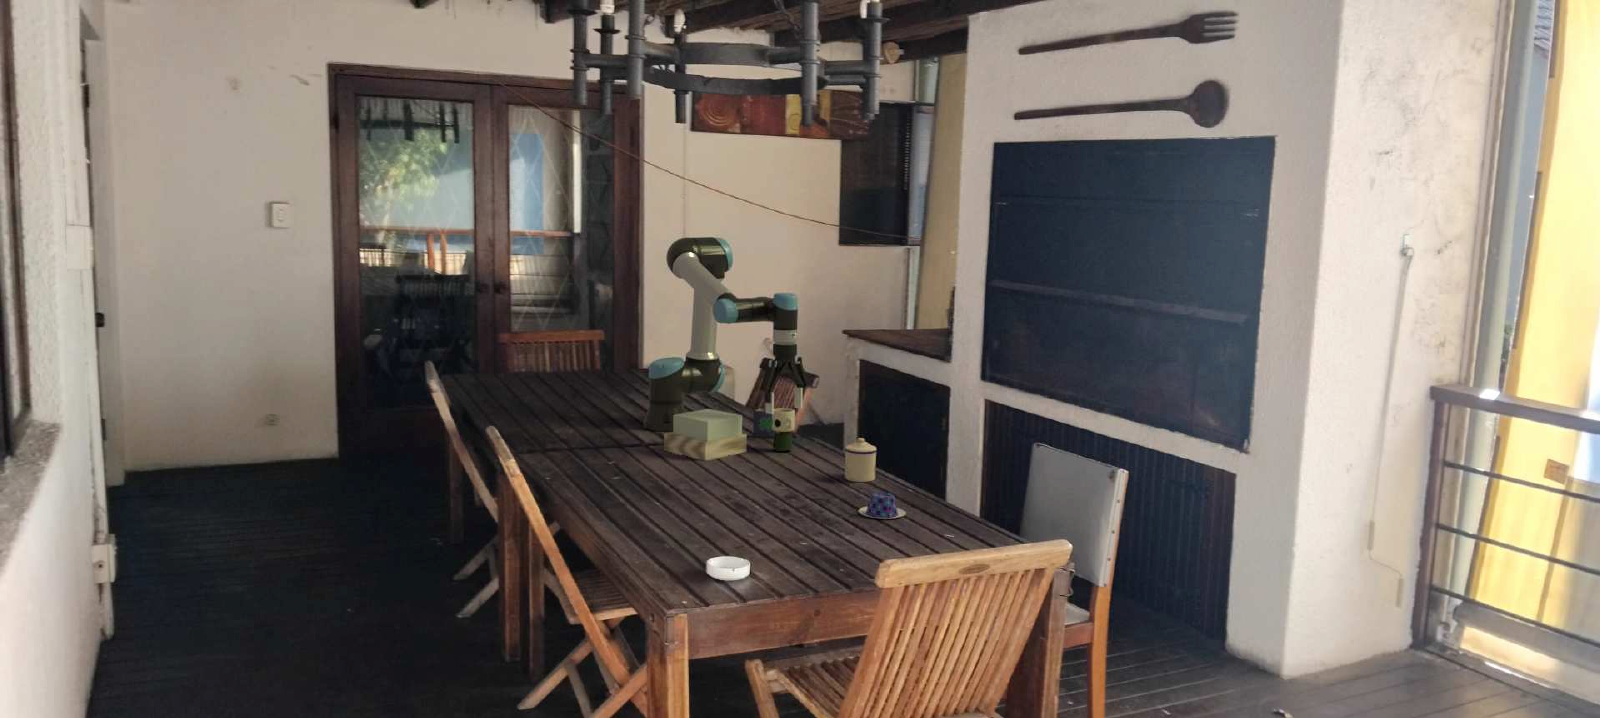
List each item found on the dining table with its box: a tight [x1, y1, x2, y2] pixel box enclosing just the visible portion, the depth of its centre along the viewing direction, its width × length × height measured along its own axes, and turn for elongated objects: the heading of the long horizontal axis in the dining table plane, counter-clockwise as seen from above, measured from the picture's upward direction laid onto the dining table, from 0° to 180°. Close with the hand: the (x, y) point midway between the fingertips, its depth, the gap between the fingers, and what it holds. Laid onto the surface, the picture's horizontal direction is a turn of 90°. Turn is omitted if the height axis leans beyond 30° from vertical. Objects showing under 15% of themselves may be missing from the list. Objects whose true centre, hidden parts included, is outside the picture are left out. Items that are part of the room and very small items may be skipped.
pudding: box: [858, 491, 907, 520], centre depth 302 cm, size 12×12×5 cm
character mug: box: [772, 407, 796, 453], centre depth 371 cm, size 11×7×13 cm, turn 27°
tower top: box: [672, 408, 743, 441], centre depth 368 cm, size 15×15×6 cm
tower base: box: [663, 431, 748, 461], centre depth 368 cm, size 18×18×6 cm
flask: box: [753, 407, 776, 439], centre depth 392 cm, size 9×3×11 cm, turn 87°
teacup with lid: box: [844, 437, 877, 483], centre depth 339 cm, size 12×9×12 cm
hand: (784, 410), depth 370 cm, fingers open, 13 cm apart
